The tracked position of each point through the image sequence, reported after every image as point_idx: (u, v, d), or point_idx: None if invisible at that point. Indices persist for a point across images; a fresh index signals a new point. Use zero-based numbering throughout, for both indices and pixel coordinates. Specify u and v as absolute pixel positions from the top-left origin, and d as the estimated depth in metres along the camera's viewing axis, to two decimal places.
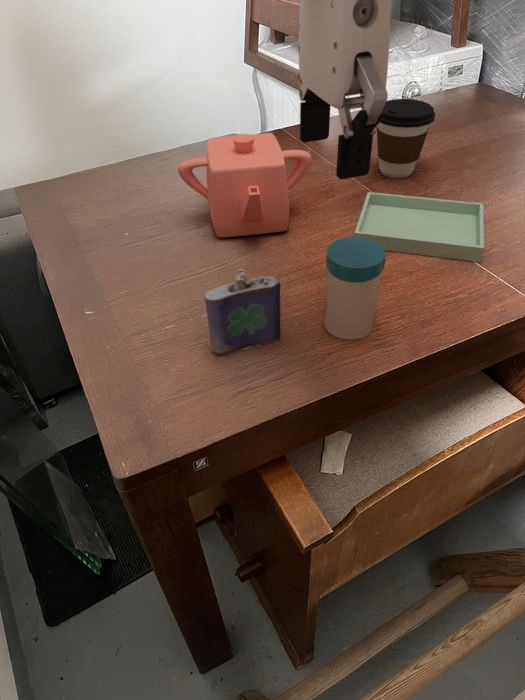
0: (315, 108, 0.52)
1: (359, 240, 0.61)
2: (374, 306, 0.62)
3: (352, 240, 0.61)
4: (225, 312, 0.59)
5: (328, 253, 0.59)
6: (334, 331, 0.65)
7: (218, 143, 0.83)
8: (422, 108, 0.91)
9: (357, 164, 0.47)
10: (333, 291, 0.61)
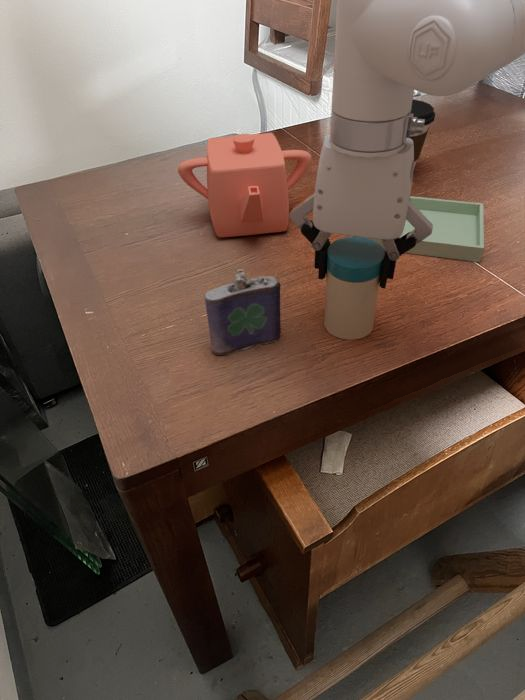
0: None
1: (359, 240, 0.61)
2: (374, 306, 0.62)
3: (352, 240, 0.61)
4: (225, 312, 0.59)
5: (328, 253, 0.59)
6: (334, 331, 0.65)
7: (218, 143, 0.83)
8: (422, 108, 0.91)
9: None
10: (333, 291, 0.61)
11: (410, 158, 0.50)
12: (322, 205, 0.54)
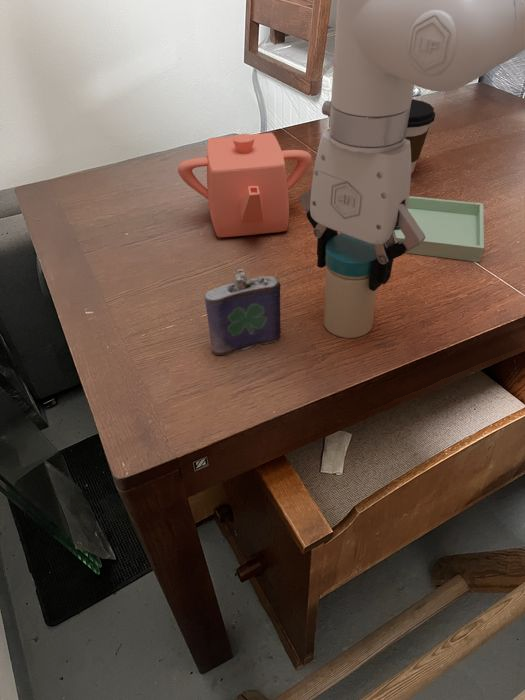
0: None
1: (341, 256, 0.58)
2: (374, 303, 0.63)
3: (349, 258, 0.58)
4: (225, 312, 0.59)
5: None
6: (336, 330, 0.65)
7: (218, 143, 0.83)
8: (422, 108, 0.91)
9: None
10: (333, 291, 0.61)
11: None
12: None
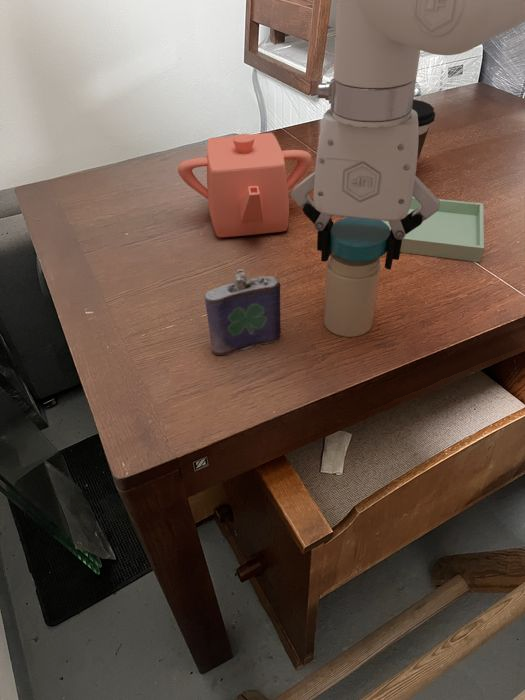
0: None
1: (356, 242, 0.56)
2: (374, 301, 0.63)
3: (364, 242, 0.56)
4: (225, 312, 0.59)
5: (388, 227, 0.57)
6: (337, 329, 0.65)
7: (218, 143, 0.83)
8: (422, 108, 0.91)
9: None
10: (335, 290, 0.61)
11: None
12: None
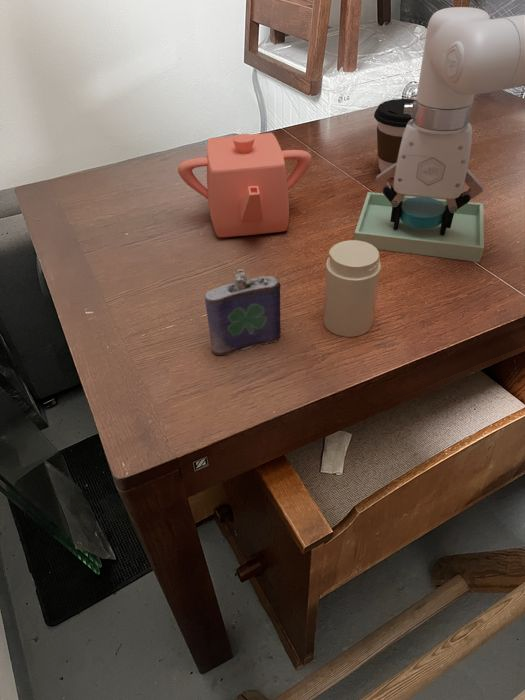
0: None
1: (422, 214, 0.78)
2: (374, 301, 0.63)
3: (427, 214, 0.78)
4: (225, 312, 0.59)
5: (443, 205, 0.80)
6: (337, 330, 0.65)
7: (218, 143, 0.83)
8: None
9: None
10: (335, 290, 0.61)
11: None
12: None
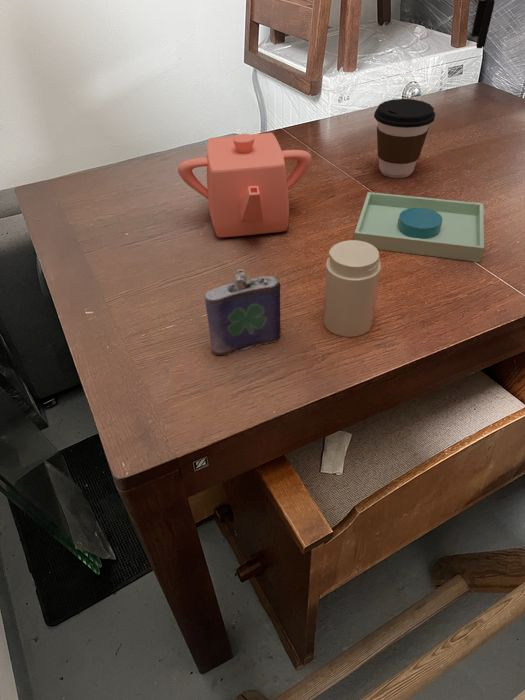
0: None
1: (419, 225, 0.80)
2: (374, 301, 0.63)
3: (425, 225, 0.80)
4: (225, 312, 0.59)
5: (440, 216, 0.82)
6: (337, 330, 0.65)
7: (218, 143, 0.83)
8: (422, 108, 0.91)
9: None
10: (335, 290, 0.61)
11: None
12: None
